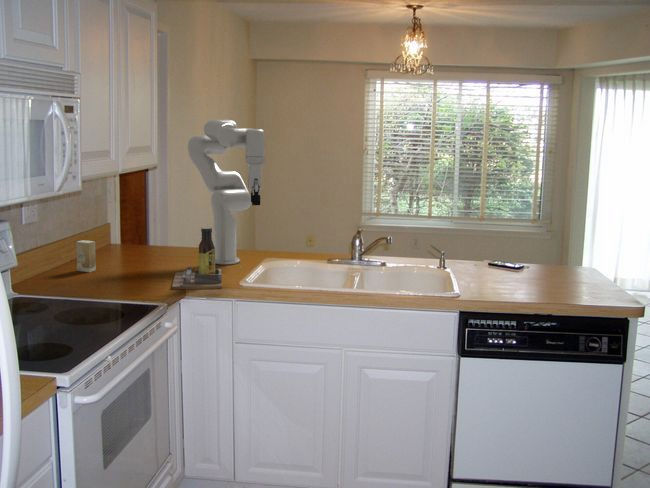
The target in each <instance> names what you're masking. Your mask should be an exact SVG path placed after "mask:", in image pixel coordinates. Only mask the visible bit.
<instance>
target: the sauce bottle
mask: <svg viewBox="0 0 650 488" xmlns="http://www.w3.org/2000/svg"><path fill="white" fill-rule="evenodd" d="M200 232H201V241H200V242H199V244H198V269H199V275H206V274H215V269H216V264H215V247H214V240H213V238H212V233H213V228H212V227H208V226H207V227H201V229H200Z"/></svg>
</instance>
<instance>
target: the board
mask: <svg viewBox="0 0 650 488" xmlns="http://www.w3.org/2000/svg"><path fill="white" fill-rule="evenodd" d="M186 273H187V270H184V271H180V272H179V271H177V272H175V273H174V278H173V281H172V284H171V285H172V286H171V290H207V289H208V290H209V289H210V290H211V289H222V288H223V287H222V286H223V284H222V277H223V276H222V268H215V274H206V275H199V268H198V269H194V271H191V275H192V277H191V283H187V282H186Z"/></svg>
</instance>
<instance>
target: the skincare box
mask: <svg viewBox="0 0 650 488" xmlns="http://www.w3.org/2000/svg"><path fill="white" fill-rule="evenodd" d="M75 244H76V271H77V272H83V273H85V272H86V273H91V272H95V271H97V269H96V268H97V267H96V265H97V263H96V262H97V260H96V258H97V257H96V241H92V240H85V239H82V240H78V241H76V242H75Z"/></svg>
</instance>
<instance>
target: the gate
mask: <svg viewBox="0 0 650 488" xmlns="http://www.w3.org/2000/svg"><path fill="white" fill-rule="evenodd" d="M186 268H187V269H186V272H187V273H186V282H187V283H191V277H192V275H191V272H192V266H190V265H189V266H186Z"/></svg>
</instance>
